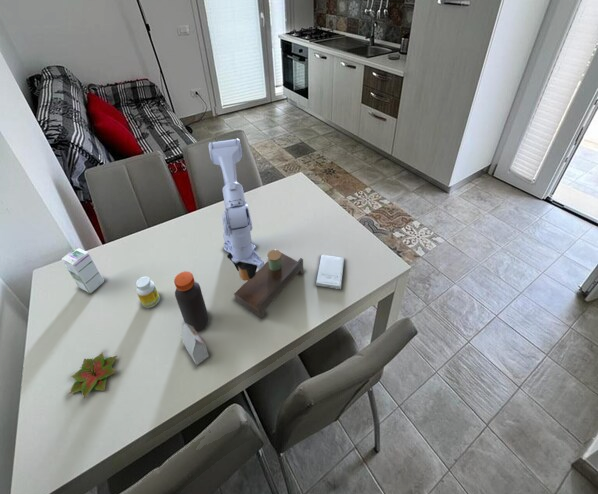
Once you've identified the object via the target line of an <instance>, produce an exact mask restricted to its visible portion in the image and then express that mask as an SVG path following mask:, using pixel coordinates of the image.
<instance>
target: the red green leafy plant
mask: <svg viewBox="0 0 598 494" xmlns="http://www.w3.org/2000/svg"><path fill="white" fill-rule="evenodd" d="M117 358H118V355H115V356H108V357H106V358H105V355H104V352H103V351H102V352H101V353H100V354H98V355H97V356H95V357H94V358H93V357H92V358H83V362H82V364H81V368H80V369H79V370H78V371H76V372H75V373H74V374H73V375H71V376H70V378H72V379H73V380H74V381H75V382H74V383H73V385H72V387H71V388H70V391H69V392H68V394H67V395H71V394H74V393H78V392H81V394H82V396H83V399H84V400H85V399H86V397H87V396H88V395H89V393H90V392H91V391H92V390H94V391H103V392H105V390H106V385H107V378H108V377H110V376H112V375H114V374H117V371H116V370H115V369H114V368H113V367H112V366H113V364H114V363H115V361H116V359H117Z"/></svg>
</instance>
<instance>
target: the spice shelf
mask: <svg viewBox="0 0 598 494" xmlns="http://www.w3.org/2000/svg"><path fill="white" fill-rule="evenodd" d="M281 264H282V266H281V268H280V269H279V270H278V271H272V270H270V269H269V264H268V260H267V261H266V262H264V266H263V267H262V268H261V269H257V270H256V274H255V276H254V277H253V278H252V279H250V280H246V281H245V283H244V284H242V285H241V286H240V288H238V289H237V290H236V291H235V292H234V293H233V294H234V299H235V301H236V302H237V303H239V304H240V305H242V306H243V307H244V308H246V309H247V310H248V311H250V312H252V313H253V314H255V315H256V316H257V317H258V318H259V319H262V318H263V317H264V316H265V314H266V313H265V310H266V309H267V308H268V306H270V305H271V303H272V302H273V301H274V300H275V299H276V298H277V297H278V295H279V294H281V292H283V290H284V289H285V288H286V287H287V286H288V284H290V282H291V281H292V280H293V279H294V278H295V277H296V276H297V274H298V275H302V274H303V272H304V258H302V257H300V258H299V259H298V260H296V259H294V258H293V257H290V256H288V255H286V254H284V253H283V252H281Z"/></svg>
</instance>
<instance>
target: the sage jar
mask: <svg viewBox="0 0 598 494" xmlns="http://www.w3.org/2000/svg"><path fill="white" fill-rule="evenodd" d="M281 253H282V252H281V251H280V250H278V249H271V250H269V251H268V252H267V261H268V264H269V269H270V270H272V271H278V270H279V269H280V268H281V266H282V264H281Z"/></svg>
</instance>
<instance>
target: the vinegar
mask: <svg viewBox="0 0 598 494" xmlns="http://www.w3.org/2000/svg"><path fill="white" fill-rule="evenodd" d="M173 280H174V281H173V282H174V285H175V291H174V296H175V297H174V298H175V299H176V303H177V305H178V308H179V311H180V312H181V316H182V319H183V323H185V322H186V323H187V324H188V325H191V326H193V327H194V328H195V330H196V331H197V332H199V331H200V332H201V331H202V330H204V329H205V328H206V327H207V325H208V324H209V319H210V318H209V317H210V316H209V314H208V309H207V305H206V303H205V299H204V295H203V292H202V288H201V286H200V284H199V282H197V281H196V280H195V277H194V275H193V273H192V272H191V271H182V272H180V273H178V274H176V276H175V277H174V279H173Z"/></svg>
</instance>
